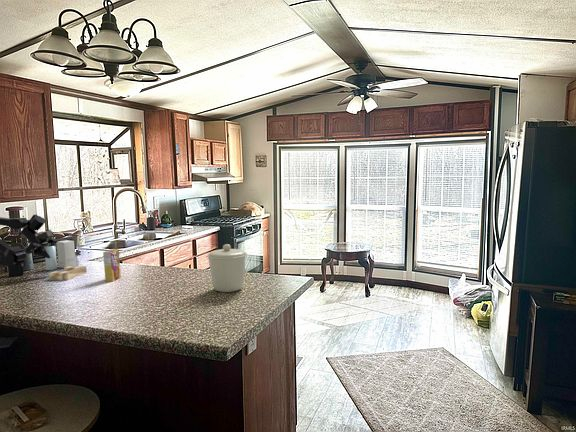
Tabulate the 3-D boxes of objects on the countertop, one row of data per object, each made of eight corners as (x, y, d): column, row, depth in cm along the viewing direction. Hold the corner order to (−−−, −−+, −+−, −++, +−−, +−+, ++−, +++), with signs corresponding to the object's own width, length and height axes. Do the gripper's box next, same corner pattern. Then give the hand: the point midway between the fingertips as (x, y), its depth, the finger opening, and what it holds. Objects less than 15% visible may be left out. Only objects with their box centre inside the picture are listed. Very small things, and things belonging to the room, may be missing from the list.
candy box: (113, 277, 211) (111, 248, 209) (121, 277, 210) (119, 248, 209) (104, 281, 202) (102, 251, 200) (112, 281, 201) (111, 251, 200)
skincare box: (76, 266, 238) (74, 240, 236) (65, 268, 232) (63, 242, 230) (68, 265, 242) (67, 239, 240) (57, 267, 236) (55, 241, 235)
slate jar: (47, 270, 212) (45, 247, 211) (45, 268, 216) (43, 246, 214) (57, 268, 215) (56, 246, 214) (56, 267, 219) (54, 245, 218)
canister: (240, 296, 174) (239, 248, 172) (201, 294, 178) (199, 247, 175) (252, 284, 192) (251, 241, 189) (216, 283, 195) (215, 240, 193)
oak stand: (49, 279, 207) (49, 273, 207) (69, 272, 223) (69, 266, 223) (68, 280, 206) (67, 273, 206) (86, 272, 222) (86, 266, 222)
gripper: (28, 228, 204) (50, 249, 204) (53, 223, 223) (73, 243, 222) (15, 243, 206) (37, 264, 206) (41, 237, 224) (61, 257, 224)
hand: (53, 256), depth 214 cm, fingers closed on slate jar, 5 cm apart
